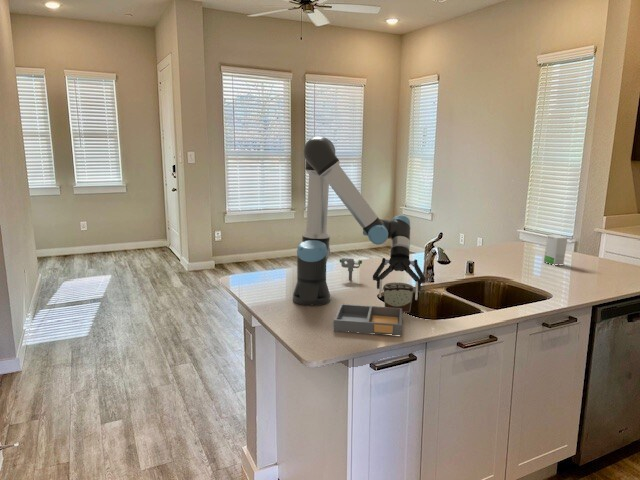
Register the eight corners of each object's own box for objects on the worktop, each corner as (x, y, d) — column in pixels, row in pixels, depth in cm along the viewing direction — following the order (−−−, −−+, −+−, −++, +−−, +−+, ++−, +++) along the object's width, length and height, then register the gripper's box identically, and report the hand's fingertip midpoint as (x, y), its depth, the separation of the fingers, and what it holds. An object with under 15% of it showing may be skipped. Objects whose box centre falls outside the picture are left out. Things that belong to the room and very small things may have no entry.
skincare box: (543, 262, 253) (546, 234, 250) (553, 261, 255) (556, 234, 252) (554, 266, 245) (557, 237, 242) (564, 265, 247) (568, 237, 244)
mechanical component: (360, 281, 212) (361, 260, 210) (338, 280, 214) (339, 259, 212) (361, 279, 215) (362, 259, 213) (339, 278, 217) (340, 257, 215)
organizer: (333, 331, 154) (333, 320, 153) (340, 314, 170) (340, 303, 169) (400, 337, 150) (401, 325, 149) (401, 318, 166) (402, 308, 166)
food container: (410, 306, 179) (411, 282, 177) (413, 312, 173) (415, 286, 171) (378, 306, 179) (379, 282, 177) (381, 312, 173) (382, 286, 171)
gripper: (430, 256, 186) (431, 303, 175) (369, 253, 191) (365, 299, 179) (432, 246, 180) (432, 294, 169) (368, 243, 184) (364, 290, 173)
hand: (398, 297), depth 174 cm, fingers open, 13 cm apart
